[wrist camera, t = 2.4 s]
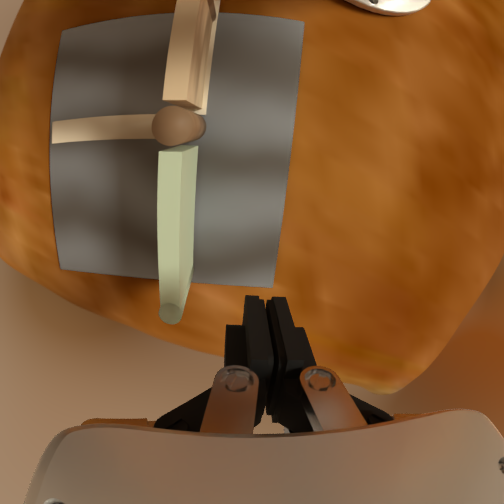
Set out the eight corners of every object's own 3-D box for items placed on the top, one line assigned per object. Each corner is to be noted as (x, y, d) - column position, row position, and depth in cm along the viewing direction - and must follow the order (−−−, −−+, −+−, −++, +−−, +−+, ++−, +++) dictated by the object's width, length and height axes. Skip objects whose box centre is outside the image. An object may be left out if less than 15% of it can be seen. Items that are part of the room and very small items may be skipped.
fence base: (67, 20, 14) (19, -2, 8) (304, 11, 16) (330, -29, 9) (62, 267, 23) (22, 308, 17) (272, 285, 24) (283, 339, 18)
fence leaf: (179, 145, 19) (155, 151, 13) (199, 145, 19) (183, 152, 13) (176, 275, 23) (159, 322, 17) (194, 277, 23) (182, 325, 17)
